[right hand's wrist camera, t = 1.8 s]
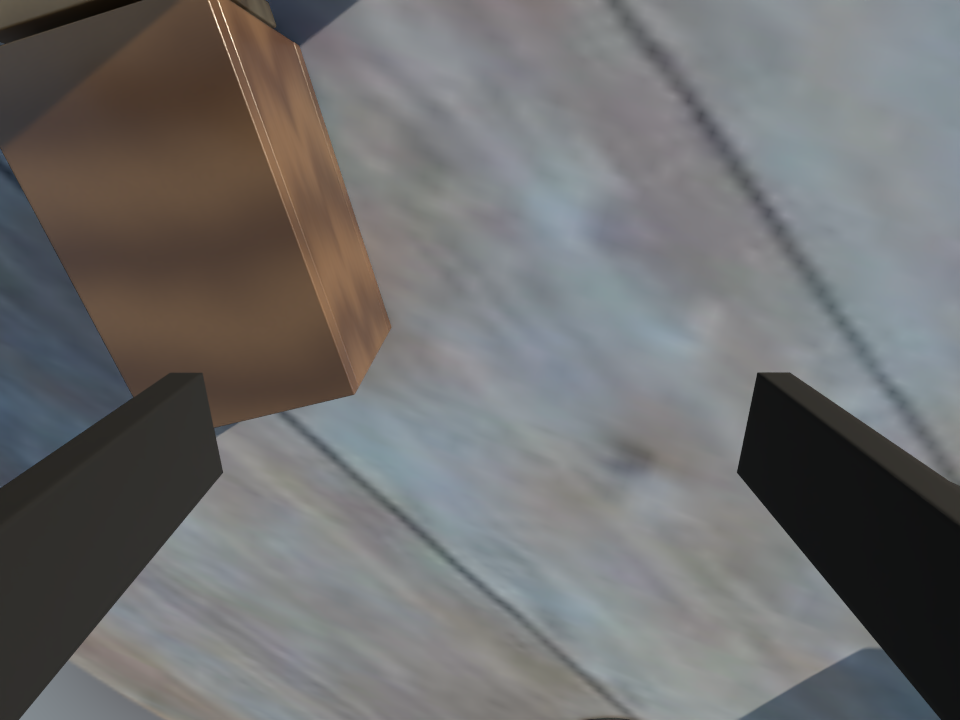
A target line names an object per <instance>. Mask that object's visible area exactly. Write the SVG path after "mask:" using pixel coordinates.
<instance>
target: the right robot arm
mask: <svg viewBox="0 0 960 720" xmlns="http://www.w3.org/2000/svg"><path fill="white" fill-rule="evenodd" d="M222 473H223V470H222V465H221V460H220V456H219V451H218V446H217V441H216V436H215V431H214V426H213V421H212V416H211V412H210V407H209V402H208V397H207V392H206V387H205V382H204V377H203V373H169V374H167V375H166V376H164V377H163V378H161V379H160V380H159V381H157V382H156V383H154V384H153V385H151V386H150V387H148V388H147V389H145V390H144V391H142V392H141V393H139V394H138V395H137V396H135V397H134V398H132V399H131V400H129V401H128V402H126V403H125V404H123V405H122V406H120V407H119V408H117V409H116V410H115V411H113V412H112V413H110V414H109V415H107V416H106V417H104V418H103V419H101V420H100V421H98V422H97V423H95V424H94V425H93V426H91V427H90V428H88V429H87V430H85V431H84V432H82V433H81V434H79V435H78V436H76V437H75V438H73V439H72V440H70V441H69V442H68V443H66V444H65V445H63V446H62V447H60V448H59V449H57V450H56V451H54V452H53V453H51V454H50V455H48V456H47V457H46V458H44V459H43V460H41V461H40V462H38V463H37V464H35V465H34V466H32V467H31V468H29V469H28V470H26V471H25V472H24V473H22V474H21V475H19V476H18V477H16V478H15V479H13V480H12V481H10V482H9V483H7V484H6V485H4V486H3V487H2V488H0V720H19V719H20V718H21V716H22V715H23V714H24V713H25V712H26V710H27V709H28V708H29V707H30V706H31V704H32V703H33V702H34V701H35V700H36V698H37V697H38V696H39V695H40V693H41V692H42V691H43V690H44V689H45V687H46V686H47V685H48V684H49V683H50V681H51V680H52V679H53V678H54V677H55V675H56V674H57V673H58V672H59V670H60V669H61V668H62V667H63V666H64V664H65V663H66V662H67V661H68V660H69V658H70V657H71V656H72V655H73V654H74V652H75V651H76V650H77V649H78V647H79V646H80V645H81V644H82V643H83V641H84V640H85V639H86V638H87V637H88V635H89V634H90V633H91V632H92V631H93V629H94V628H95V627H96V626H97V624H98V623H99V622H100V621H101V620H102V618H103V617H104V616H105V615H106V614H107V612H108V611H109V610H110V609H111V608H112V606H113V605H114V604H115V603H116V601H117V600H118V599H119V598H120V597H121V595H122V594H123V593H124V592H125V591H126V589H127V588H128V587H129V586H130V585H131V583H132V582H133V581H134V580H135V578H136V577H137V576H138V575H139V574H140V572H141V571H142V570H143V569H144V568H145V566H146V565H147V564H148V563H149V562H150V560H151V559H152V558H153V557H154V555H155V554H156V553H157V552H158V551H159V549H160V548H161V547H162V546H163V545H164V543H165V542H166V541H167V540H168V539H169V537H170V536H171V535H172V534H173V532H174V531H175V530H176V529H177V528H178V526H179V525H180V524H181V523H182V522H183V520H184V519H185V518H186V517H187V516H188V514H189V513H190V512H191V511H192V509H193V508H194V507H195V506H196V505H197V503H198V502H199V501H200V500H201V499H202V497H203V496H204V495H205V494H206V493H207V491H208V490H209V489H210V488H211V486H212V485H213V484H214V483H215V482H216V480H217V479H218V478H219V477H220V476H221V474H222ZM737 473H738V474H739V476H740V477H741V478H742V479H743V480H744V482H745V483H746V484H747V485H748V486H749V488H750V489H751V490H752V491H753V493H754V494H755V495H756V496H757V497H758V499H759V500H760V501H761V502H762V503H763V505H764V506H765V507H766V508H767V509H768V511H769V512H770V513H771V514H772V516H773V517H774V518H775V519H776V520H777V522H778V523H779V524H780V525H781V526H782V528H783V529H784V530H785V531H786V532H787V534H788V535H789V536H790V537H791V539H792V540H793V541H794V542H795V543H796V545H797V546H798V547H799V548H800V549H801V551H802V552H803V553H804V554H805V555H806V557H807V558H808V559H809V560H810V562H811V563H812V564H813V565H814V566H815V568H816V569H817V570H818V571H819V572H820V574H821V575H822V576H823V577H824V578H825V580H826V581H827V582H828V583H829V585H830V586H831V587H832V588H833V589H834V591H835V592H836V593H837V594H838V595H839V597H840V598H841V599H842V600H843V601H844V603H845V604H846V605H847V606H848V608H849V609H850V610H851V611H852V612H853V614H854V615H855V616H856V617H857V618H858V620H859V621H860V622H861V623H862V624H863V626H864V627H865V628H866V629H867V631H868V632H869V633H870V634H871V635H872V637H873V638H874V639H875V640H876V641H877V643H878V644H879V645H880V646H881V647H882V649H883V650H884V651H885V652H886V654H887V655H888V656H889V657H890V658H891V660H892V661H893V662H894V663H895V664H896V666H897V667H898V668H899V669H900V670H901V672H902V673H903V674H904V675H905V677H906V678H907V679H908V680H909V681H910V683H911V684H912V685H913V686H914V687H915V689H916V690H917V691H918V692H919V693H920V695H921V696H922V697H923V698H924V700H925V701H926V702H927V703H928V704H929V706H930V707H931V708H932V709H933V710H934V712H935V713H936V714H937V715H938V716H939V718H940V719H941V720H960V486H958V485H956V484H954V483H952V482H950V481H948V480H947V479H945V478H944V477H942V476H941V475H939V474H938V473H936V472H935V471H934V470H932V469H931V468H929V467H928V466H926V465H925V464H923V463H922V462H920V461H919V460H917V459H916V458H914V457H913V456H912V455H910V454H909V453H907V452H906V451H904V450H903V449H901V448H900V447H898V446H897V445H895V444H894V443H892V442H891V441H889V440H888V439H887V438H885V437H884V436H882V435H881V434H879V433H878V432H876V431H875V430H873V429H872V428H870V427H869V426H867V425H866V424H865V423H863V422H862V421H860V420H859V419H857V418H856V417H854V416H853V415H851V414H850V413H848V412H847V411H845V410H844V409H843V408H841V407H840V406H838V405H837V404H835V403H834V402H832V401H831V400H829V399H828V398H826V397H825V396H823V395H822V394H821V393H819V392H818V391H816V390H815V389H813V388H812V387H810V386H809V385H807V384H806V383H804V382H803V381H801V380H800V379H799V378H797V377H796V376H794V375H793V374H791V373H757V377H756V382H755V387H754V392H753V397H752V402H751V407H750V412H749V416H748V421H747V426H746V431H745V436H744V441H743V446H742V451H741V456H740V460H739V465H738V470H737ZM591 720H628V719H621V718H599V719H591Z"/></svg>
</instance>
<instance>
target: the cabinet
mask: <svg viewBox="0 0 960 720" xmlns="http://www.w3.org/2000/svg"><path fill="white" fill-rule="evenodd" d="M0 149H1V150H2V152H3V154H4V156H5V158H6V160H7V162H8V164H9V165H10V167H11V169H12V171H13V173H14V175H15V177H16V179H17V180H18V182H19V184H20V186H21V188H22V190H23V192H24V194H25V195H26V197H27V199H28V201H29V203H30V205H31V207H32V209H33V210H34V212H35V214H36V216H37V218H38V220H39V222H40V224H41V225H42V227H43V229H44V231H45V233H46V235H47V237H48V239H49V240H50V242H51V244H52V246H53V248H54V250H55V252H56V253H57V255H58V257H59V259H60V261H61V263H62V265H63V267H64V268H65V270H66V272H67V274H68V276H69V278H70V280H71V282H72V283H73V285H74V287H75V289H76V291H77V293H78V295H79V297H80V298H81V300H82V302H83V304H84V306H85V308H86V310H87V312H88V313H89V315H90V317H91V319H92V321H93V323H94V325H95V327H96V328H97V330H98V332H99V334H100V336H101V338H102V340H103V341H104V343H105V345H106V347H107V349H108V351H109V353H110V355H111V356H112V358H113V360H114V362H115V364H116V366H117V368H118V370H119V371H120V373H121V375H122V377H123V379H124V381H125V383H126V385H127V386H128V388H129V390H130V392H131V394H132V396H133V398H134V397H135V396H137V395H138V394H139V393H141V392H142V391H144V390H145V389H147V388H148V387H150V386H151V385H153V384H154V383H156V382H157V381H159V380H160V379H161V378H163V377H164V376H166V375H167V374H169V373H203V377H204V382H205V387H206V392H207V397H208V402H209V407H210V412H211V416H212V421H213V426H214V428H216V427H220V426H224V425H228V424H233V423H237V422H241V421H245V420H249V419H254V418H258V417H262V416H266V415H271V414H275V413H279V412H283V411H287V410H292V409H296V408H300V407H304V406H308V405H313V404H317V403H321V402H325V401H330V400H334V399H338V398H342V397H346V396H351V395H354V394H355V393H356V391H357V389H358V387H359V386H360V384H361V382H362V380H363V378H364V376H365V375H366V373H367V371H368V369H369V367H370V365H371V364H372V362H373V360H374V358H375V356H376V354H377V353H378V351H379V349H380V347H381V345H382V343H383V342H384V340H385V338H386V336H387V334H388V333H389V331H390V329H391V325H390V322H389V319H388V316H387V313H386V310H385V306H384V303H383V300H382V297H381V294H380V291H379V288H378V285H377V282H376V279H375V276H374V273H373V270H372V267H371V264H370V261H369V258H368V254H367V251H366V248H365V245H364V242H363V239H362V236H361V233H360V230H359V227H358V224H357V221H356V218H355V215H354V212H353V209H352V206H351V202H350V199H349V196H348V193H347V190H346V187H345V184H344V181H343V178H342V175H341V172H340V169H339V166H338V163H337V160H336V157H335V154H334V151H333V147H332V144H331V141H330V138H329V135H328V132H327V129H326V126H325V123H324V120H323V117H322V114H321V111H320V108H319V105H318V102H317V99H316V95H315V92H314V89H313V86H312V83H311V80H310V77H309V74H308V71H307V68H306V65H305V62H304V59H303V56H302V53H301V50H300V47H299V45H298V44H296V43H295V42H293V41H291V40H290V39H288V38H286V37H285V36H283V35H282V34H280V33H279V32H277V31H276V30H274V29H273V28H271V27H270V26H268V25H267V24H265V23H264V22H262V21H261V20H259V19H258V18H256V17H255V16H253V15H252V14H250V13H249V12H247V11H246V10H244V9H243V8H241V7H239V6H238V5H236V4H235V3H233V2H232V1H230V0H142V1H139V2H136V3H132V4H129V5H126V6H123V7H120V8H117V9H114V10H110V11H107V12H104V13H101V14H98V15H95V16H91V17H88V18H85V19H82V20H79V21H76V22H73V23H69V24H66V25H63V26H60V27H57V28H54V29H51V30H47V31H44V32H41V33H38V34H35V35H32V36H29V37H25V38H22V39H19V40H16V41H13V42H10V43H6V44H3V45H0Z"/></svg>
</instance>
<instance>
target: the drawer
mask: <svg viewBox="0 0 960 720" xmlns="http://www.w3.org/2000/svg"><path fill="white" fill-rule="evenodd" d="M139 1H142V0H0V42H1V43H4V44H6V43H10V42H13V41H16V40H19V39H22V38H25V37H29V36H32V35H35V34H38V33H41V32H44V31H47V30H51V29H54V28H57V27H60V26H63V25H66V24H69V23H73V22H76V21H79V20H82V19H85V18H88V17H91V16H95V15H98V14H101V13H104V12H107V11H110V10H114V9H117V8H120V7H123V6H126V5H129V4H132V3H136V2H139ZM230 1H232V2H233V3H235V4H236V5H238V6H239V7H241V8H243V9H244V10H246V11H247V12H249V13H250V14H252V15H253V16H255V17H256V18H258V19H259V20H261V21H262V22H264V23H265V24H267V25H268V26H270V27H271V28H275V27H276V23H275V20H274V17H273V14H272V11H271V9H270V6H269V3H268V2H267V1H265V0H230Z"/></svg>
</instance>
